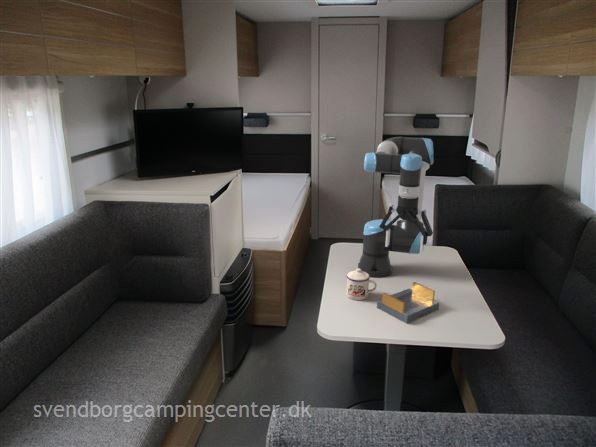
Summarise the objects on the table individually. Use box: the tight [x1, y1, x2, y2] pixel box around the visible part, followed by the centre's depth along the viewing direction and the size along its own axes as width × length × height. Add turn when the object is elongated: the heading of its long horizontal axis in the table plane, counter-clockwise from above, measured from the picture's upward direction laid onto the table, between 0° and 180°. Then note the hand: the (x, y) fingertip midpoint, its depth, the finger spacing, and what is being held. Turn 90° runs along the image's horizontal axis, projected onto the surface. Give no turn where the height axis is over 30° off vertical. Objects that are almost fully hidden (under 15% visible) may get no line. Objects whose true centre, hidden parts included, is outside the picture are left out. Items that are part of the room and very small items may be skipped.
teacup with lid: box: [346, 267, 378, 301], centre depth 201 cm, size 12×9×12 cm
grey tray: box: [376, 281, 440, 324], centre depth 192 cm, size 15×18×7 cm
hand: (404, 248), depth 195 cm, fingers open, 13 cm apart
